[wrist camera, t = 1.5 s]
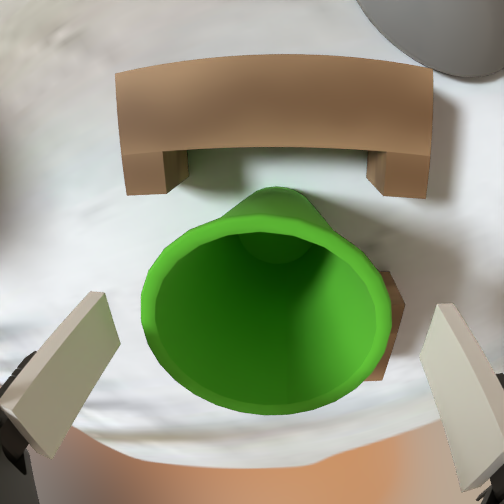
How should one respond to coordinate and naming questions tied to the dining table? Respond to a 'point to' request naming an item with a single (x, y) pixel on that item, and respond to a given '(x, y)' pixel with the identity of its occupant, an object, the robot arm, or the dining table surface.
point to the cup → (266, 308)
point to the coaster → (444, 32)
